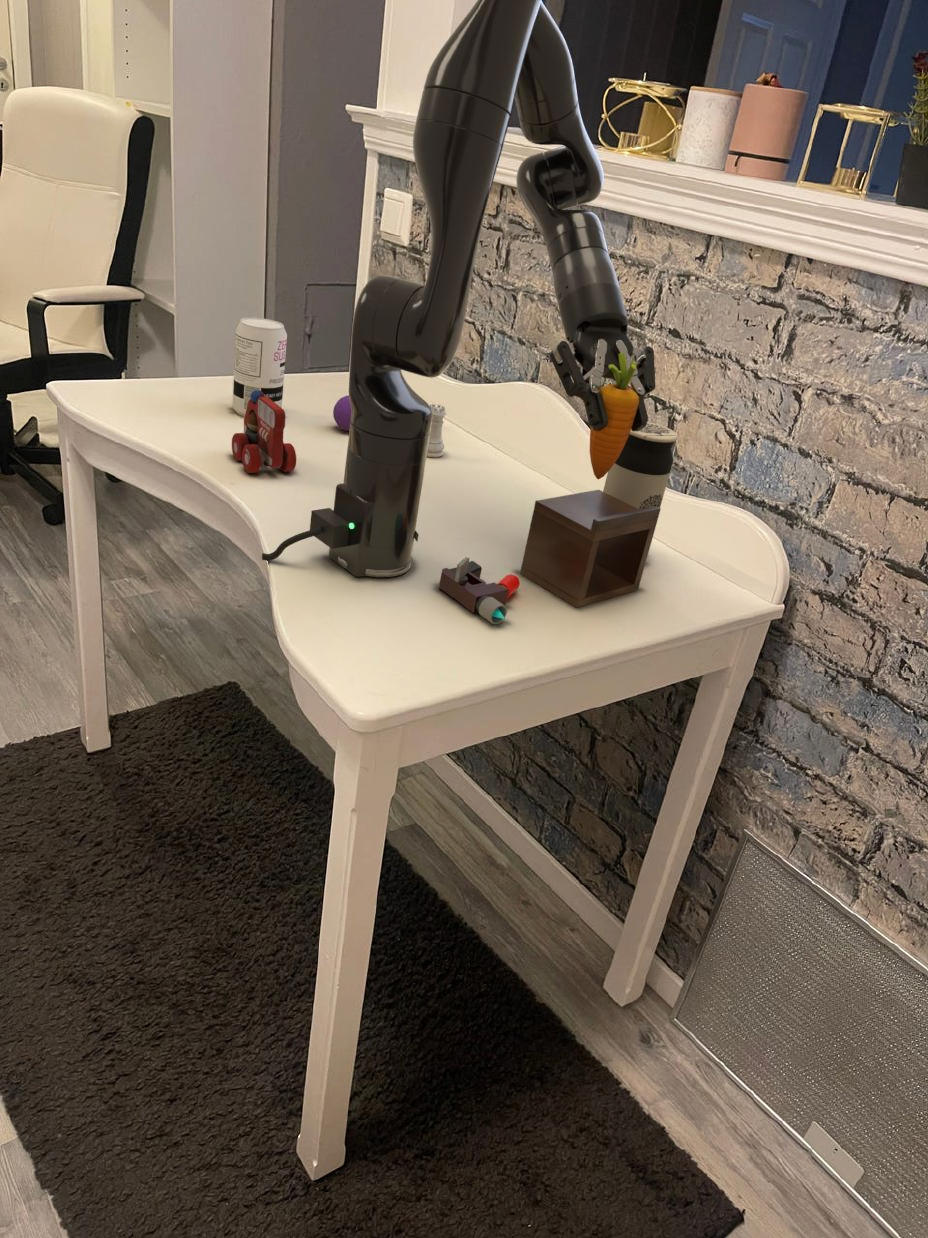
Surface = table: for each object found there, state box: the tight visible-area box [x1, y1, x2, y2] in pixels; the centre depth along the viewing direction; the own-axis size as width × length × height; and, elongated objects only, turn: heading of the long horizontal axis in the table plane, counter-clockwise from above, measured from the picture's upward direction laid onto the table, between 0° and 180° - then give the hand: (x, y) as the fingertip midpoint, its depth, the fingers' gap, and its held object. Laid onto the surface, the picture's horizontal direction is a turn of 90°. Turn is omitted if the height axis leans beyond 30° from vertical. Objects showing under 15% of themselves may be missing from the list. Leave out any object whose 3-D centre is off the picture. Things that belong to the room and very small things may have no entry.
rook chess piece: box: [426, 403, 447, 459], centre depth 154 cm, size 4×4×8 cm
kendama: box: [332, 394, 351, 432], centre depth 163 cm, size 6×6×20 cm
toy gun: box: [438, 557, 521, 625], centre depth 111 cm, size 10×12×5 cm
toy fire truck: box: [231, 390, 297, 474], centre depth 136 cm, size 7×12×10 cm, turn 30°
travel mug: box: [602, 421, 679, 510], centre depth 127 cm, size 8×8×18 cm
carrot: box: [589, 353, 639, 480], centre depth 111 cm, size 5×5×15 cm
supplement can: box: [231, 317, 288, 417], centre depth 156 cm, size 8×8×15 cm
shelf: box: [519, 489, 661, 609], centre depth 118 cm, size 12×10×11 cm
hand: (620, 427), depth 110 cm, fingers closed on carrot, 5 cm apart
